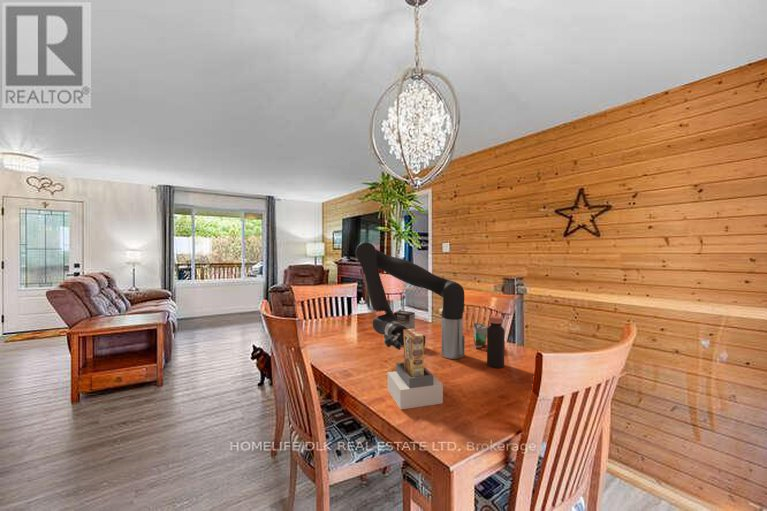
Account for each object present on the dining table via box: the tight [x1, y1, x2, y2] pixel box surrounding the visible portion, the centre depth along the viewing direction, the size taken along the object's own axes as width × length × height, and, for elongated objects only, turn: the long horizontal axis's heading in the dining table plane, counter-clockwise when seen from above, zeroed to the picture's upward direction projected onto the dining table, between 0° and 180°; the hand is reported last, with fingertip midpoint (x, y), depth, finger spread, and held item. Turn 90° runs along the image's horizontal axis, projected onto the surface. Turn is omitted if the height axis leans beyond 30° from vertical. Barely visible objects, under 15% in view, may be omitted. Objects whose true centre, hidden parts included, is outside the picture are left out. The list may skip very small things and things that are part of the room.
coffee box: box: [393, 310, 416, 347], centre depth 160 cm, size 9×6×16 cm
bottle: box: [486, 315, 506, 369], centre depth 132 cm, size 7×7×20 cm
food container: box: [473, 322, 488, 350], centre depth 156 cm, size 12×6×10 cm, turn 168°
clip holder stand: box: [387, 361, 444, 411], centre depth 105 cm, size 14×14×9 cm
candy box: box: [403, 329, 425, 377], centre depth 105 cm, size 9×4×15 cm, turn 15°
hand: (411, 345), depth 107 cm, fingers open, 8 cm apart
